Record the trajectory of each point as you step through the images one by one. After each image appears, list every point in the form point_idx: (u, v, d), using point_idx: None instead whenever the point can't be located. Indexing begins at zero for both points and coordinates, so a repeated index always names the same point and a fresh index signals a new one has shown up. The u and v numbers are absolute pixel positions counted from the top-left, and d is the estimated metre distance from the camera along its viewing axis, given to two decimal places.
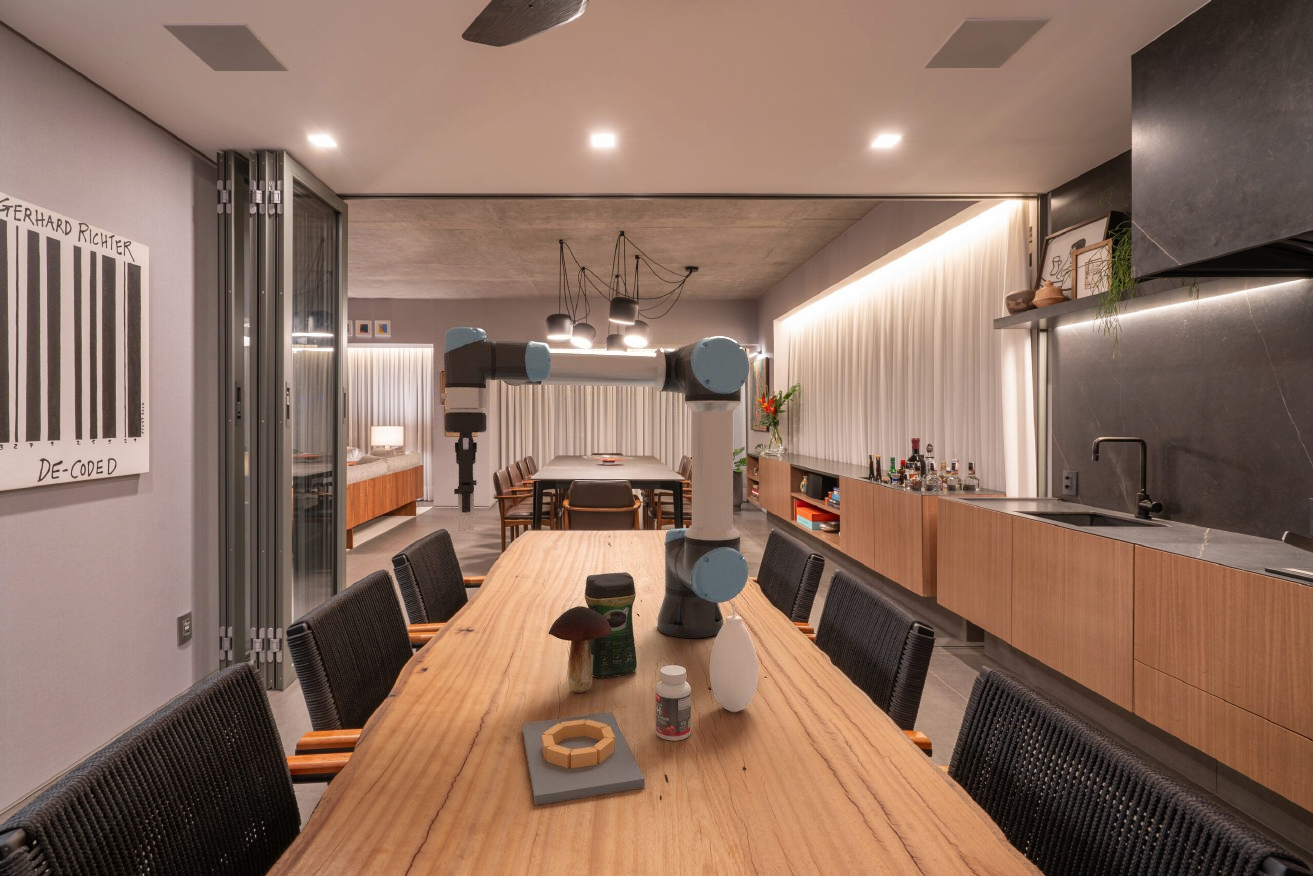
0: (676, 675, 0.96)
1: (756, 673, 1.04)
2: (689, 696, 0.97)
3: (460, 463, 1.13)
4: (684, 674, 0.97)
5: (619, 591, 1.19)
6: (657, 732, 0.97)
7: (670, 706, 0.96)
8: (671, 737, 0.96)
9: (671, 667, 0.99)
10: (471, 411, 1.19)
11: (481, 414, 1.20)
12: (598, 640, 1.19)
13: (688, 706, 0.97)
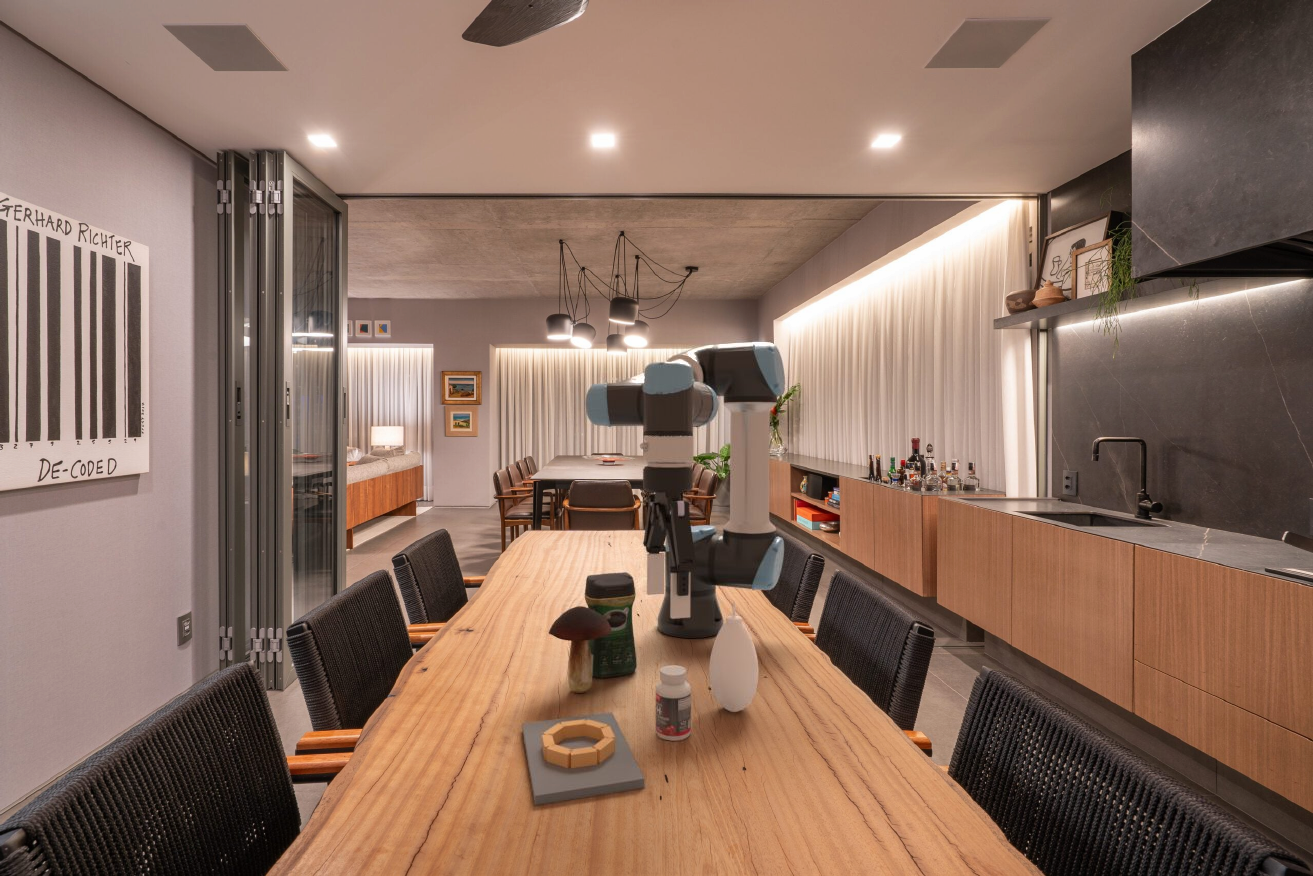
0: (676, 675, 0.96)
1: (756, 673, 1.04)
2: (689, 696, 0.97)
3: (677, 534, 0.90)
4: (684, 674, 0.97)
5: (619, 591, 1.19)
6: (657, 732, 0.97)
7: (670, 706, 0.96)
8: (671, 737, 0.96)
9: (671, 667, 0.99)
10: (680, 466, 0.95)
11: (690, 469, 0.97)
12: (598, 640, 1.19)
13: (688, 706, 0.97)
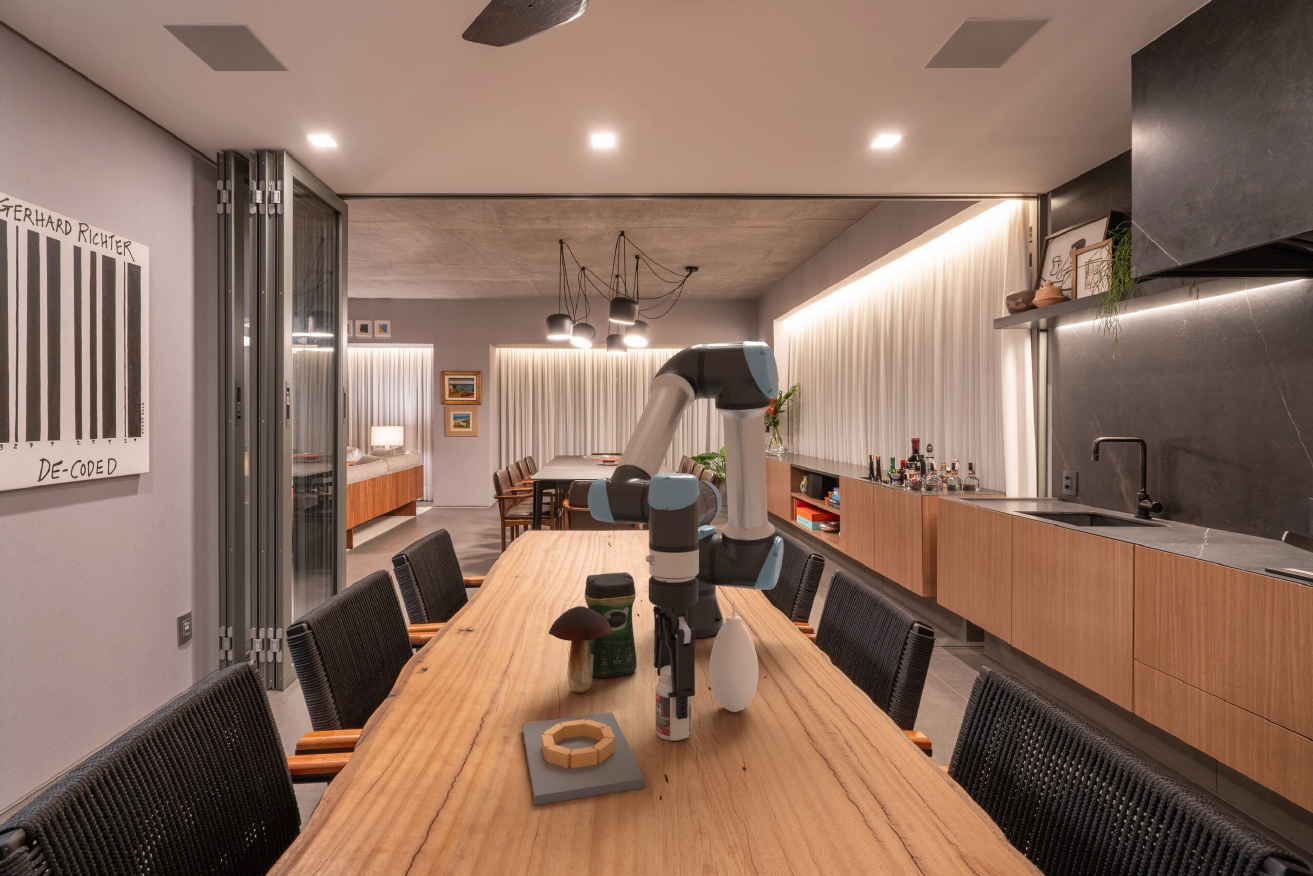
0: None
1: (756, 673, 1.04)
2: (689, 696, 0.97)
3: (680, 664, 0.92)
4: None
5: (619, 591, 1.19)
6: (657, 732, 0.97)
7: None
8: None
9: None
10: (686, 580, 0.95)
11: (696, 582, 0.96)
12: (598, 640, 1.19)
13: None
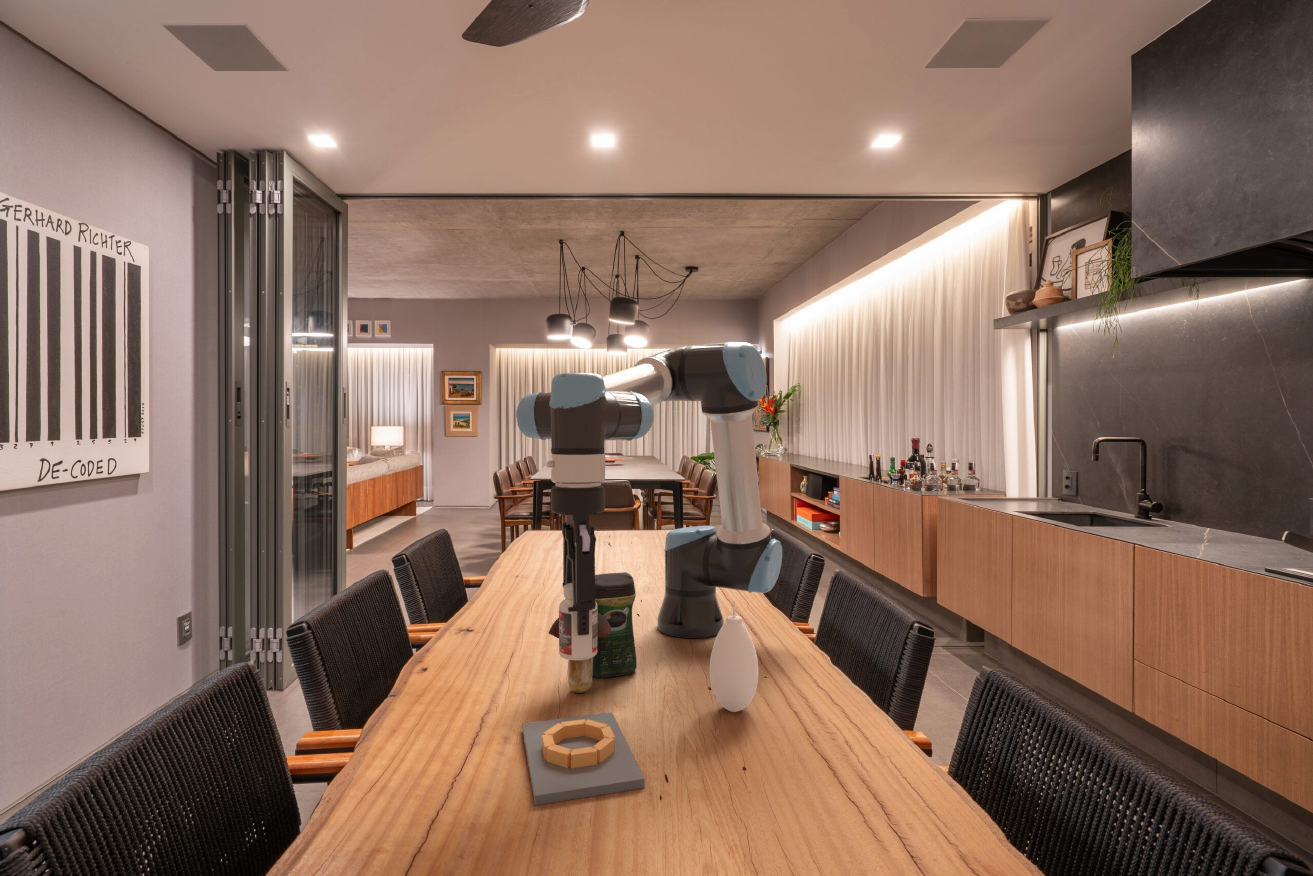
0: None
1: (756, 673, 1.04)
2: (594, 613, 0.90)
3: (579, 573, 0.84)
4: None
5: (619, 591, 1.19)
6: (560, 652, 0.90)
7: None
8: None
9: None
10: (589, 486, 0.88)
11: (600, 489, 0.89)
12: (598, 640, 1.19)
13: (592, 624, 0.89)
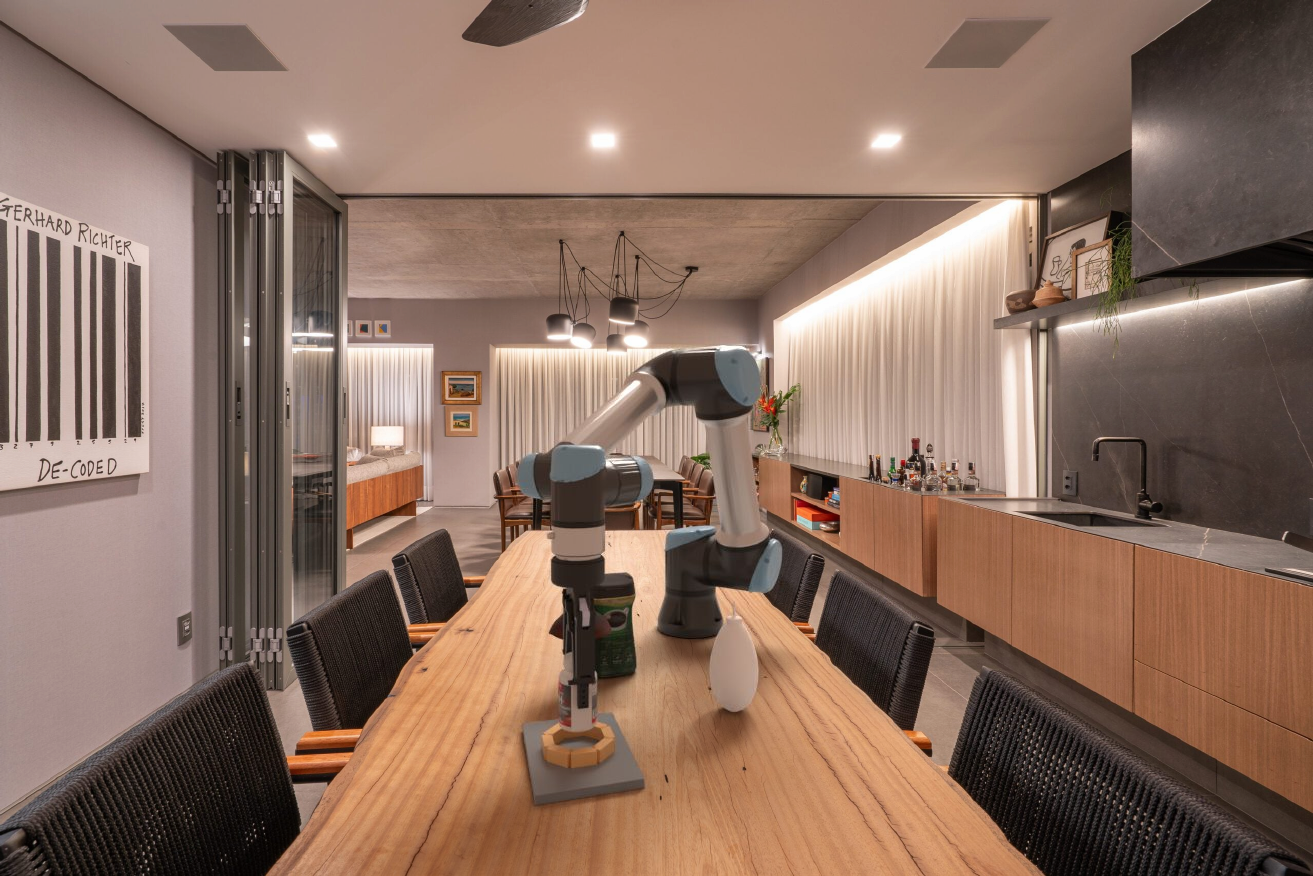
0: None
1: (756, 673, 1.04)
2: (594, 684, 0.90)
3: (578, 648, 0.85)
4: None
5: (619, 591, 1.19)
6: (559, 723, 0.90)
7: None
8: None
9: None
10: (589, 559, 0.88)
11: (600, 561, 0.89)
12: (598, 640, 1.19)
13: (592, 695, 0.90)
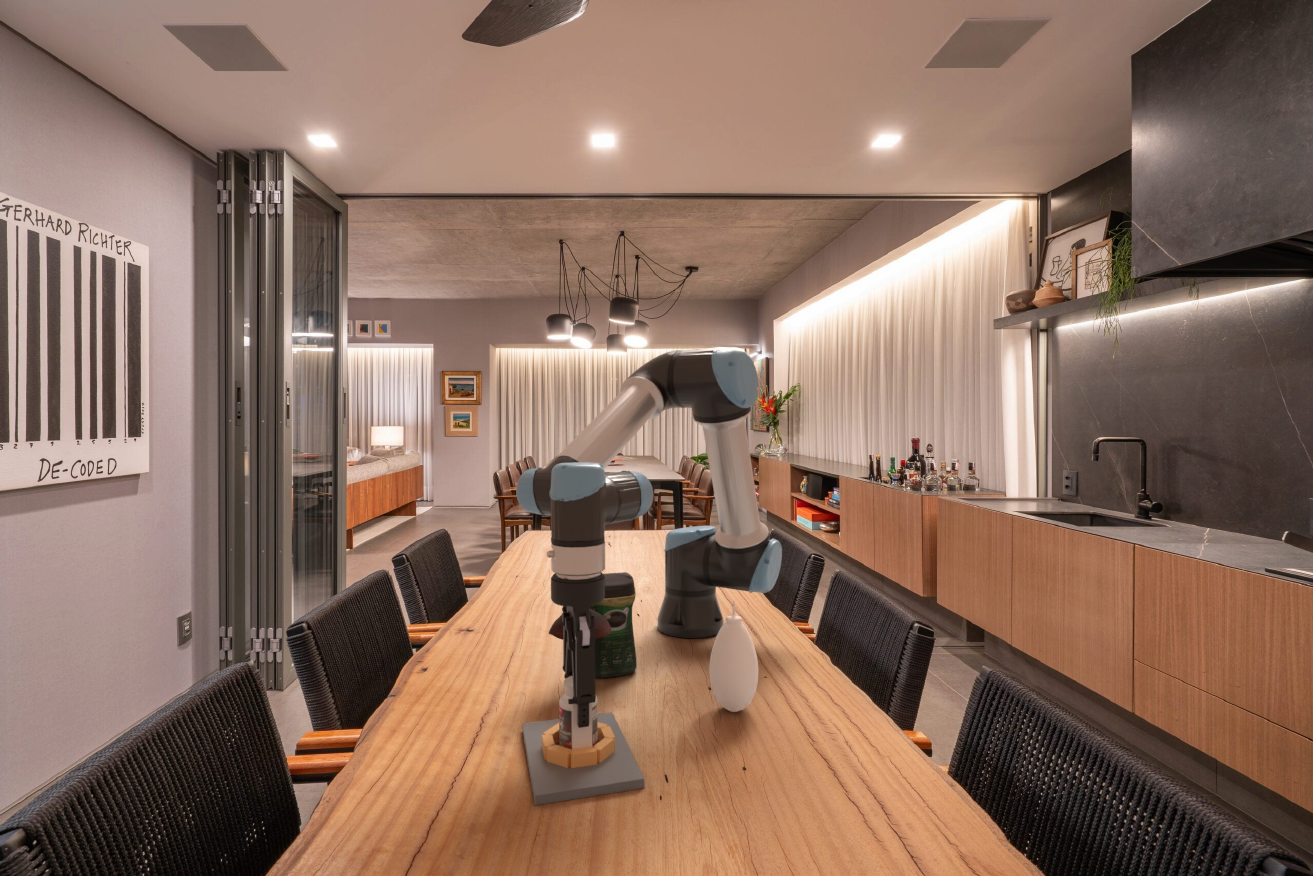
0: None
1: (756, 673, 1.04)
2: (594, 709, 0.90)
3: (579, 667, 0.85)
4: None
5: (619, 591, 1.19)
6: None
7: None
8: None
9: None
10: (589, 577, 0.88)
11: (600, 579, 0.89)
12: (598, 640, 1.19)
13: (592, 720, 0.90)
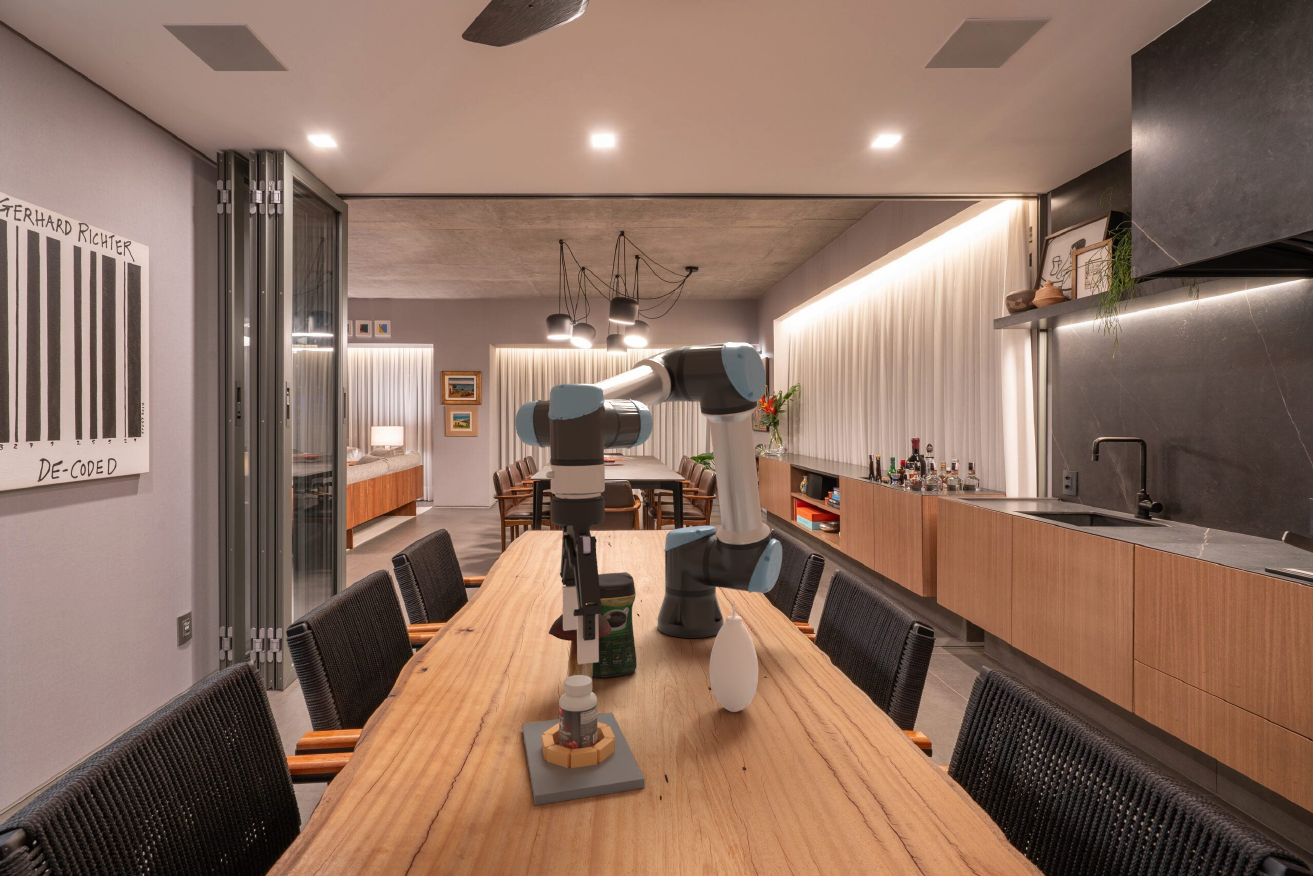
0: (579, 686, 0.89)
1: (756, 673, 1.04)
2: (594, 709, 0.90)
3: (581, 574, 0.83)
4: (589, 685, 0.90)
5: (619, 591, 1.19)
6: None
7: (572, 719, 0.89)
8: None
9: (577, 677, 0.92)
10: (588, 497, 0.88)
11: (600, 499, 0.89)
12: None
13: (592, 720, 0.90)
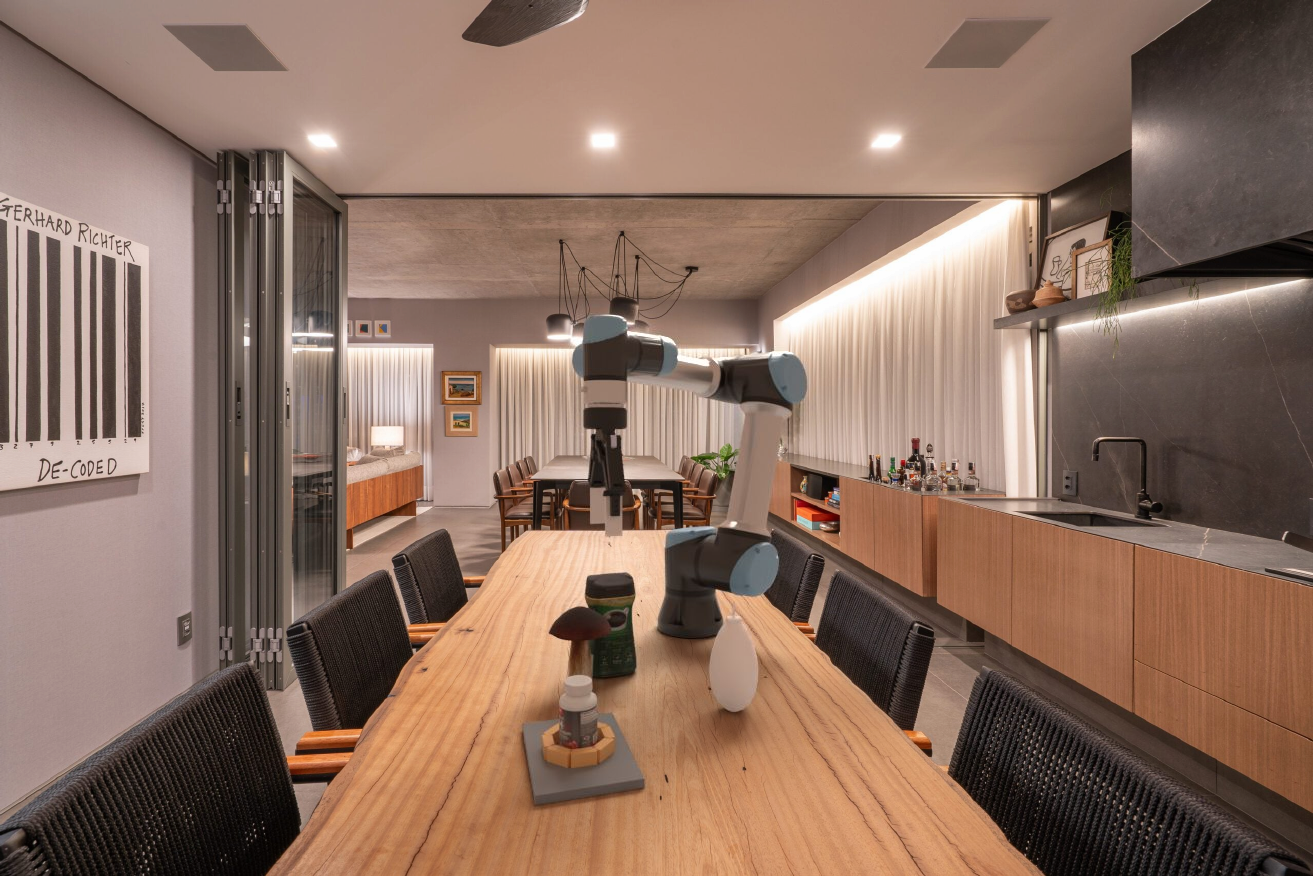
0: (579, 686, 0.89)
1: (756, 673, 1.04)
2: (594, 709, 0.90)
3: (610, 462, 1.04)
4: (589, 685, 0.90)
5: (619, 591, 1.19)
6: None
7: (572, 719, 0.89)
8: None
9: (577, 677, 0.92)
10: (614, 406, 1.09)
11: (624, 409, 1.10)
12: (598, 640, 1.19)
13: (592, 720, 0.90)
